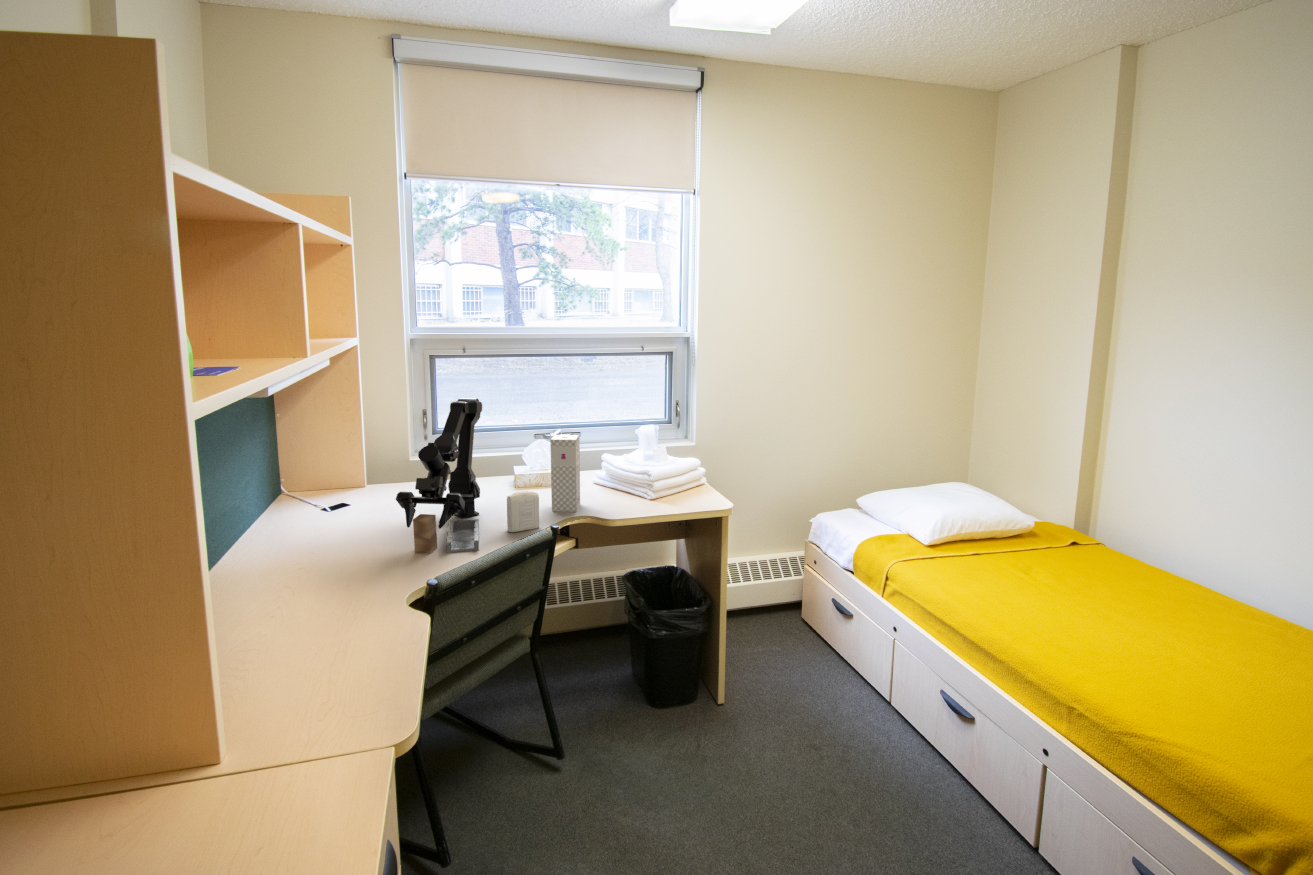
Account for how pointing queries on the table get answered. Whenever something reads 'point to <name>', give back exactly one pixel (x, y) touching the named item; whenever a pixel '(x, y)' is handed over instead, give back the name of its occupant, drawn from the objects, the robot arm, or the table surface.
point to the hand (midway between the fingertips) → (423, 527)
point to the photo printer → (522, 511)
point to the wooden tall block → (425, 533)
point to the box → (565, 473)
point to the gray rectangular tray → (463, 536)
